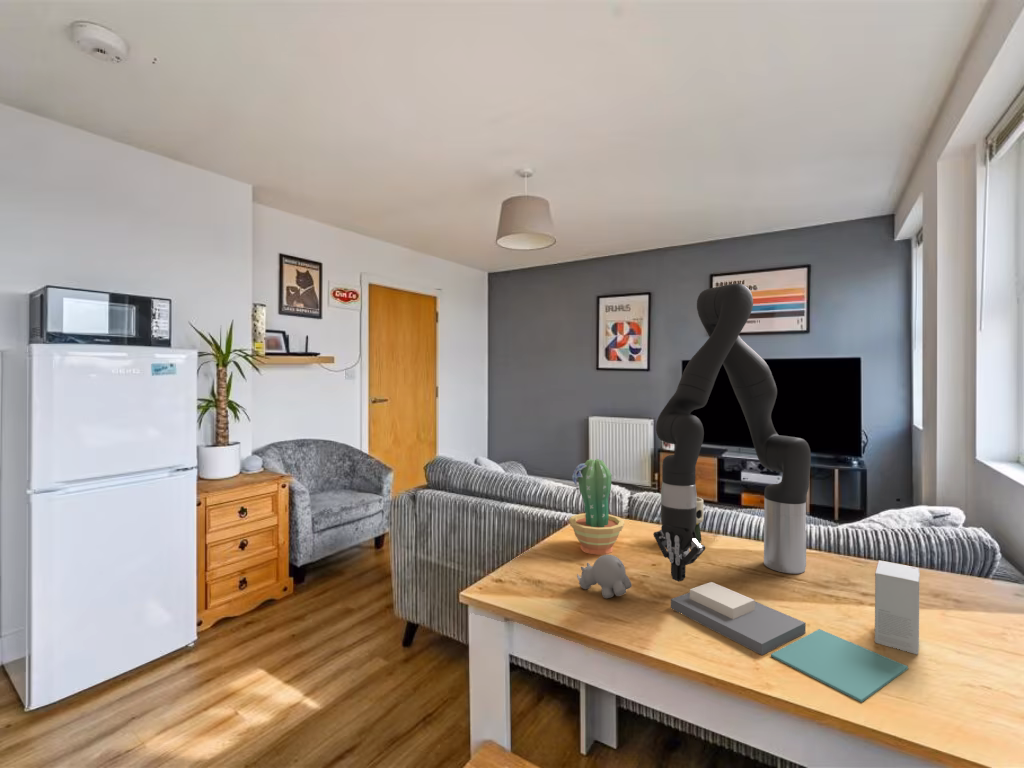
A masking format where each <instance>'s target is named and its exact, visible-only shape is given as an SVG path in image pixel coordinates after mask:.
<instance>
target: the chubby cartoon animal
mask: <svg viewBox="0 0 1024 768" xmlns="http://www.w3.org/2000/svg"><path fill="white" fill-rule="evenodd" d="M580 569H581V575H579V573H577V575H576V577H577V581H578V584H579V586H580V588H582V589H583V590H588V589H590V588H591V586H596V585H597V584H598V585H599V586H600V587H601V595H602V597H603V598H604V599H610V598H613V597H614V596H616V597H620V596H623V595H625V594H626V593H627V590H629V589H630V588H632V582H631V579H630V578H629V576H628V575H627V574H626V566H625V564H624V563H623V561H622V560H621V559H620V558H619V557H618V556H616V555H613V554H602V555H600V556H599V557H598V558H597V559H595V561H594V564H593V565H590V563H589V562H587V563H586V566H585V567H584V566H580Z"/></svg>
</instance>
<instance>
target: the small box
mask: <svg viewBox="0 0 1024 768" xmlns="http://www.w3.org/2000/svg"><path fill="white" fill-rule="evenodd" d="M920 575H921V574H920V568H919V567H916V566H911V565H910V566H909V565H905V564H902V563H896V562H890V561H884V560H880V559H879V560H877V565H876V567H875V572H874V583H875V584H874V590H875V591H874V643H875V644H878V645H881V646H885V647H889V648H892V647H893V649H896V648H897V650H899V649H900V650H899V651H903V652H906V651H907V653H910V654H914V655H919V649H920V647H919V646H920V577H921V576H920Z"/></svg>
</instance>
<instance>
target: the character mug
mask: <svg viewBox="0 0 1024 768" xmlns="http://www.w3.org/2000/svg"><path fill="white" fill-rule="evenodd" d="M703 521H704V499H703V498H702V497H699V496H697V508H696V526H695V529H694V530H695V533H696V540H697V541H698V543H699V544H700V545H702V541H703V540H702V534H701V526H700V524H701V523H702V522H703Z"/></svg>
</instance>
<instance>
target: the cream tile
mask: <svg viewBox="0 0 1024 768" xmlns="http://www.w3.org/2000/svg"><path fill="white" fill-rule="evenodd" d="M689 592H690V599H691V600H694V601H696V602H698V603H700V604H702V605H704V606H706V607H708V608H711V609H713V610H715V611H717V612H719V613H721V614H723V615H725V616H727V617H730V618H732V619H735V618H737V617H739V616H742V615H744V614H746V613H749V612H751V611H753V610H755V602H756V600H755V599H754V598H751V597H748V596H746V595H744V594H741V593H739V592H737V591H734V590H732V589H729V588H727V587H725V586H723V585H720V584H717V583H715V582H712V581H710V582H707V583H704V584H701V585H698V586H696V587H693V588H690V589H689Z"/></svg>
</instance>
